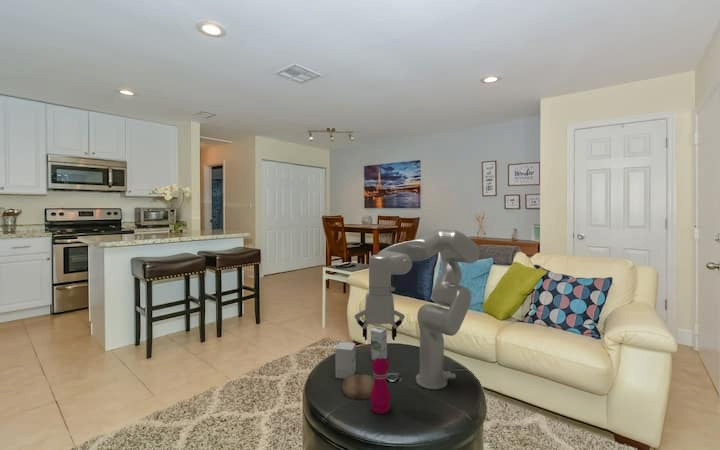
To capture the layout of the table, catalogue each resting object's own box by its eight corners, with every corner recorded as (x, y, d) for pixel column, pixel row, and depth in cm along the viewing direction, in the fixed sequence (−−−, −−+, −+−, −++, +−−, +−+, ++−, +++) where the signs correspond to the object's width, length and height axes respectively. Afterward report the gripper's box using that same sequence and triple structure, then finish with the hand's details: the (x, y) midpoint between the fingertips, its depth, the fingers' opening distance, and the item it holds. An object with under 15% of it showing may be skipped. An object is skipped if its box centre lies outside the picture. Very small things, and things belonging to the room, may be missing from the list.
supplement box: (352, 379, 147) (352, 350, 146) (335, 378, 149) (334, 348, 148) (356, 371, 155) (355, 342, 154) (339, 369, 156) (339, 341, 155)
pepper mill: (366, 410, 126) (366, 355, 124) (377, 400, 132) (376, 348, 130) (384, 417, 122) (384, 360, 120) (394, 406, 128) (394, 352, 126)
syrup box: (387, 358, 167) (387, 327, 166) (381, 363, 162) (381, 331, 161) (376, 355, 170) (376, 325, 169) (370, 360, 165) (370, 329, 164)
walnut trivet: (377, 379, 147) (377, 374, 147) (379, 399, 133) (379, 392, 133) (343, 380, 147) (342, 374, 146) (341, 399, 133) (341, 393, 133)
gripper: (403, 287, 127) (402, 334, 129) (354, 287, 127) (354, 334, 128) (406, 293, 120) (405, 343, 121) (354, 293, 120) (354, 343, 121)
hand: (379, 338), depth 125 cm, fingers open, 9 cm apart
